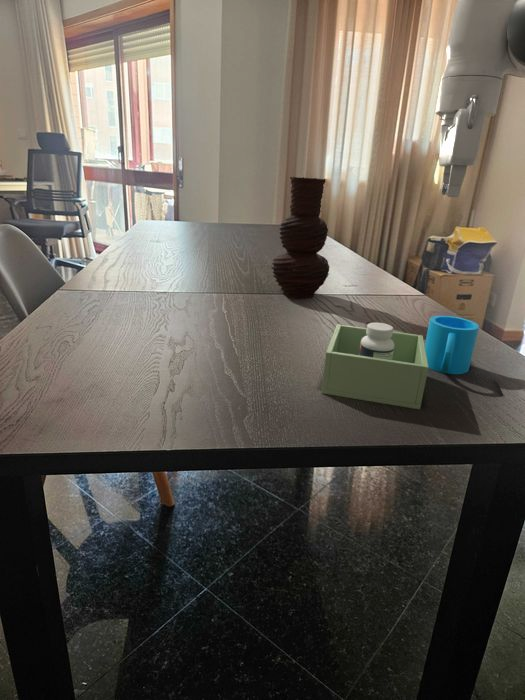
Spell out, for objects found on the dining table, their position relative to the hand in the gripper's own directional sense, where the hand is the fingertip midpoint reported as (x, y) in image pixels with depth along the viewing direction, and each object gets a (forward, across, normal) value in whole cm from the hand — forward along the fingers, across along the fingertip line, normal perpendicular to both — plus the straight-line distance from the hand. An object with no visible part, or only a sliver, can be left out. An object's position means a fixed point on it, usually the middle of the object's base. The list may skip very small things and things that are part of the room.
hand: (449, 195), depth 78 cm
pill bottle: (+28, -14, +8) cm, 33 cm away
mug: (+29, -4, -4) cm, 30 cm away
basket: (+29, -14, +8) cm, 33 cm away
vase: (+29, +36, +30) cm, 55 cm away
